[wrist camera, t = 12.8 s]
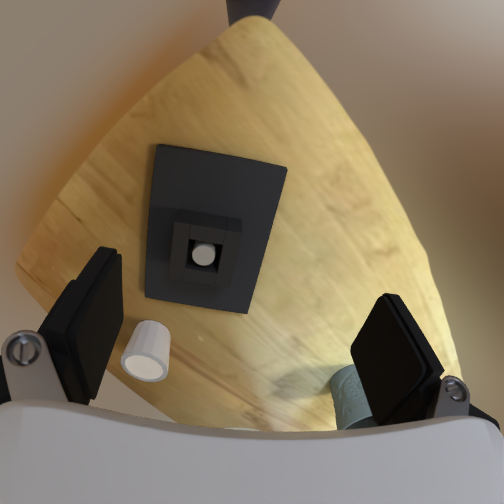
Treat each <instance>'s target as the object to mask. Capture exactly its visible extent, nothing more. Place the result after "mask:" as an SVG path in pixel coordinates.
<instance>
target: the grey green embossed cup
mask: <svg viewBox="0 0 504 504" xmlns="http://www.w3.org/2000/svg"><path fill="white" fill-rule="evenodd" d="M330 388H331V394H332V398H333V401H334V408H335V413H336V424H337V430H349V429H361V428H371V427H378V424H377V422H375V421H374V419H373V417H372V414H371V410H370V407H369V404H368V402H367V399H366V396H365V393H364V390H363V387H362V384H361V381H360V378H359V375H358V373H357V370H356V367H355V364H354V365H350V366H347V367H345V368H343V369H341V370H339V371H338V372H336V373H335V374H334V375H333V377H332V378H331V380H330Z"/></svg>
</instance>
